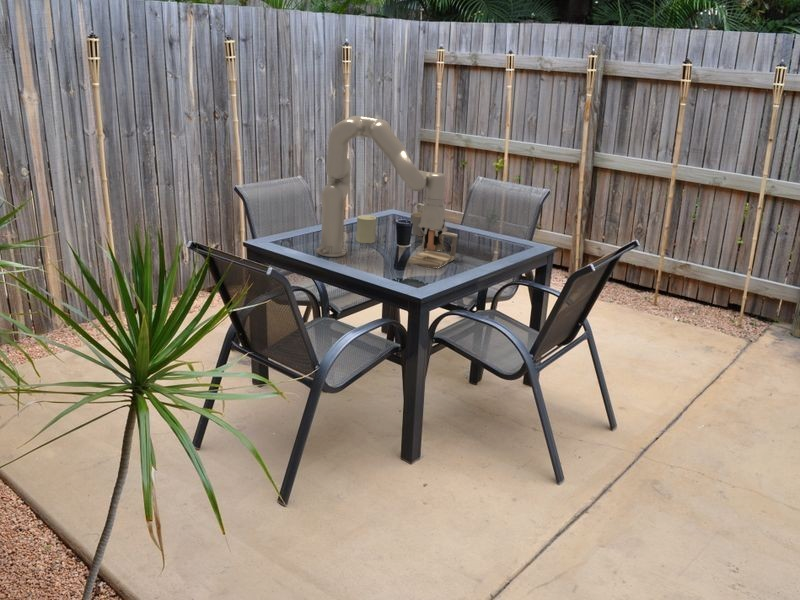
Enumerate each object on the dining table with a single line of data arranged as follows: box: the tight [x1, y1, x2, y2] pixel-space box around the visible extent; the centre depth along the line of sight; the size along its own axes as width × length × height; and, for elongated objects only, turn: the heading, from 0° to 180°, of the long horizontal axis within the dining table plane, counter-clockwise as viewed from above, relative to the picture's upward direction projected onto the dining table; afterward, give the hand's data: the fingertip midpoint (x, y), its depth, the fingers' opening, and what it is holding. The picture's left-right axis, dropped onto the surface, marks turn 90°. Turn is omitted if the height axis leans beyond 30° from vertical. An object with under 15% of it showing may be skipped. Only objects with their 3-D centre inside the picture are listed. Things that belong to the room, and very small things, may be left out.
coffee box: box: [421, 217, 446, 252], centre depth 340 cm, size 9×6×16 cm
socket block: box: [408, 229, 458, 268], centre depth 321 cm, size 18×14×12 cm
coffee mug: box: [409, 212, 423, 237], centre depth 365 cm, size 13×10×10 cm
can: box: [355, 214, 377, 244], centre depth 346 cm, size 9×9×12 cm
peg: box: [427, 230, 435, 250], centre depth 317 cm, size 3×3×8 cm
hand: (431, 243), depth 318 cm, fingers closed on peg, 3 cm apart
